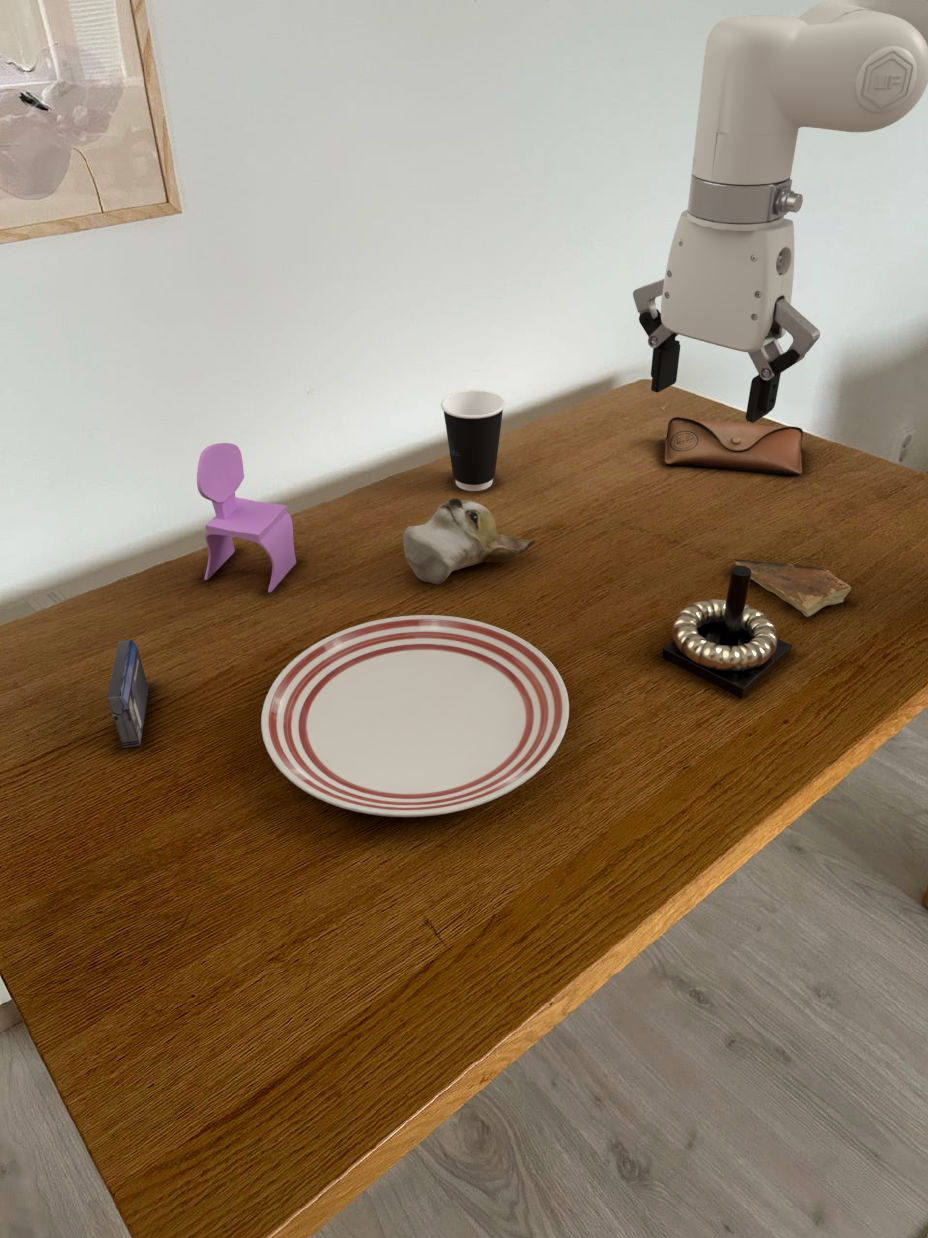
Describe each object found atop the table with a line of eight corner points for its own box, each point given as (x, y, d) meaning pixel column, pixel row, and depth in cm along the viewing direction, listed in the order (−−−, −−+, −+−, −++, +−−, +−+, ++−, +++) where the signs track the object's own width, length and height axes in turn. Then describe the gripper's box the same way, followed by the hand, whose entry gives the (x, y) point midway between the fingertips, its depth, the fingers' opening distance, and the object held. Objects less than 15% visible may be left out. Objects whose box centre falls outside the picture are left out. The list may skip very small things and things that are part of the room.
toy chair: (270, 598, 106) (250, 475, 97) (199, 584, 108) (173, 463, 100) (304, 558, 112) (288, 439, 103) (236, 546, 115) (215, 428, 106)
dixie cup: (430, 484, 126) (427, 405, 119) (469, 461, 131) (468, 383, 124) (479, 503, 122) (478, 422, 115) (517, 478, 127) (518, 399, 120)
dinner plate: (235, 678, 95) (229, 651, 93) (490, 609, 104) (491, 583, 102) (314, 888, 75) (309, 859, 73) (624, 781, 84) (627, 753, 82)
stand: (789, 654, 97) (810, 568, 91) (741, 698, 92) (759, 610, 86) (711, 617, 102) (725, 534, 96) (661, 657, 97) (673, 571, 91)
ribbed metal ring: (794, 640, 97) (798, 621, 95) (741, 690, 91) (745, 671, 90) (706, 601, 102) (709, 582, 101) (650, 646, 97) (653, 627, 95)
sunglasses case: (663, 464, 128) (669, 412, 128) (662, 467, 135) (667, 418, 134) (806, 475, 125) (813, 422, 125) (797, 478, 132) (803, 428, 132)
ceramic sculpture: (375, 499, 105) (479, 462, 114) (376, 567, 110) (475, 528, 119) (438, 539, 99) (543, 497, 107) (436, 610, 104) (537, 564, 112)
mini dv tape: (140, 746, 88) (125, 696, 84) (123, 748, 88) (107, 698, 84) (148, 688, 94) (135, 638, 91) (132, 689, 94) (118, 640, 91)
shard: (731, 570, 109) (733, 556, 108) (781, 550, 112) (784, 537, 111) (803, 619, 102) (806, 605, 101) (855, 597, 105) (859, 583, 104)
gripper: (863, 207, 75) (819, 415, 85) (670, 175, 84) (652, 365, 95) (816, 228, 70) (776, 445, 81) (619, 192, 80) (605, 389, 90)
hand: (709, 401), depth 88 cm, fingers open, 9 cm apart
